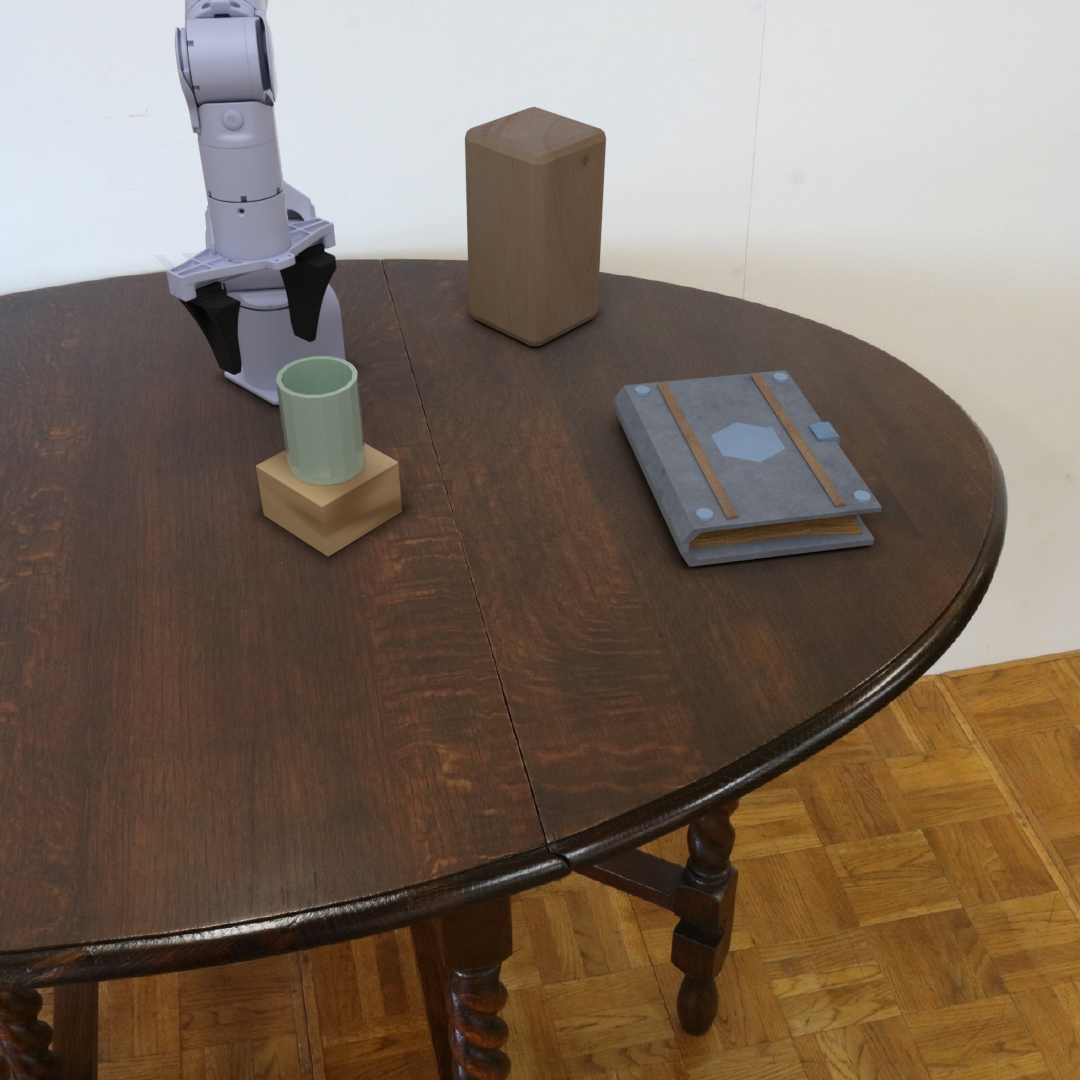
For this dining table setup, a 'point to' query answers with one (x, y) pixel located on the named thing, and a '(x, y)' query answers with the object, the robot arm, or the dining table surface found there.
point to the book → (744, 467)
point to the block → (331, 501)
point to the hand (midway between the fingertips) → (268, 353)
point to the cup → (321, 419)
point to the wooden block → (534, 223)
